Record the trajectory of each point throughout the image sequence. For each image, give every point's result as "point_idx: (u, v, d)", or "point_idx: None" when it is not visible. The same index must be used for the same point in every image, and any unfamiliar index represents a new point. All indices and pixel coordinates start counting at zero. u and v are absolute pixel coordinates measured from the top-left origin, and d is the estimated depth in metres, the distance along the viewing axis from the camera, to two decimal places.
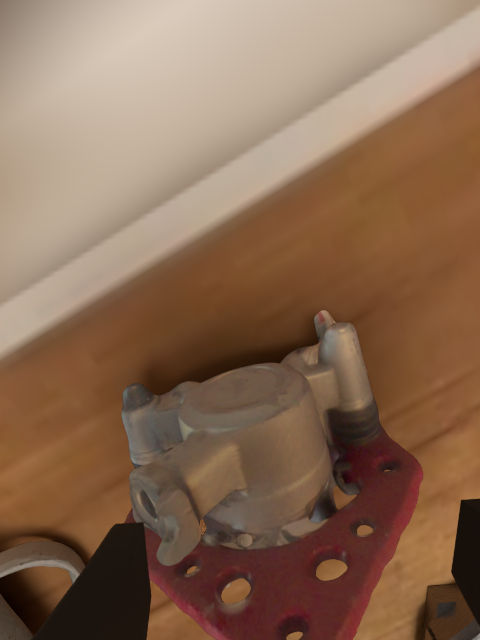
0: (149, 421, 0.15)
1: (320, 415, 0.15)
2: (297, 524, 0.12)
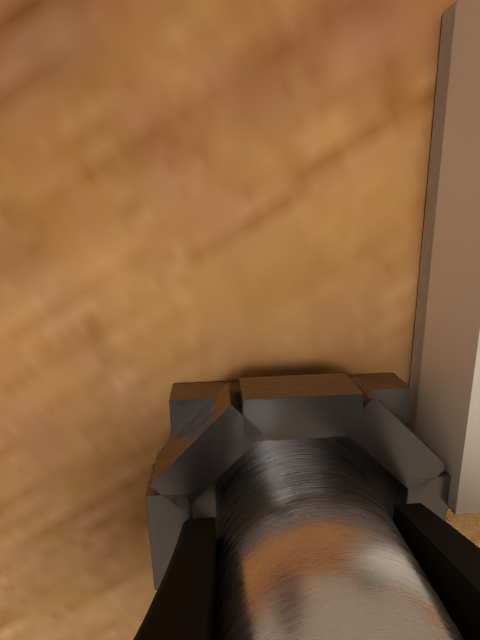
0: None
1: None
2: None
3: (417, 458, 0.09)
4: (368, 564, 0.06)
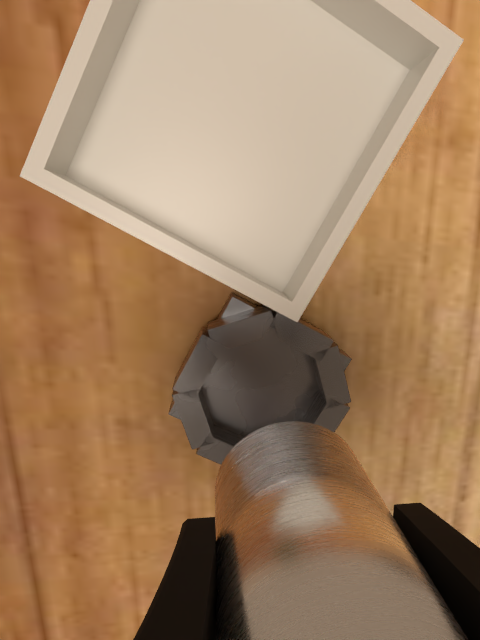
0: None
1: None
2: None
3: (255, 324, 0.15)
4: (356, 542, 0.06)
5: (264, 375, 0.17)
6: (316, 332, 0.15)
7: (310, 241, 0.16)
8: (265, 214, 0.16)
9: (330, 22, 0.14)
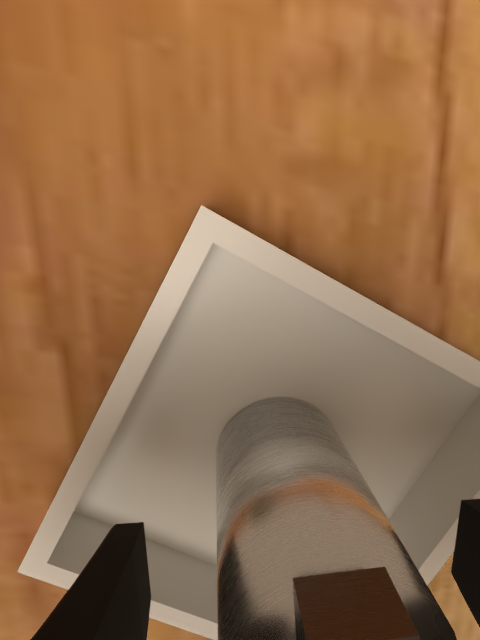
0: None
1: None
2: None
3: None
4: (322, 476, 0.08)
5: None
6: None
7: None
8: None
9: (391, 344, 0.12)
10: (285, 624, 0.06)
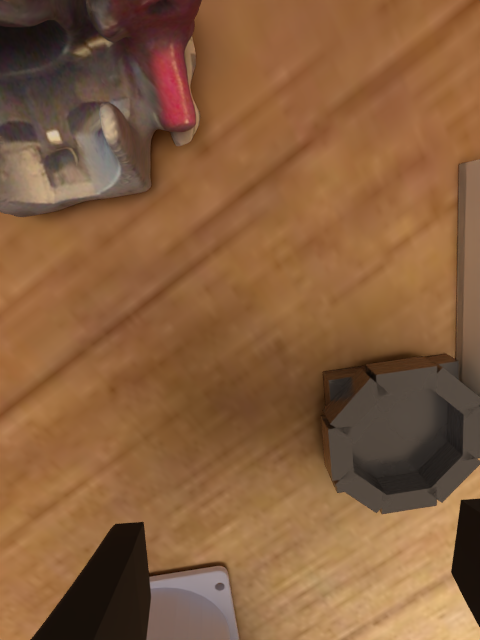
0: None
1: None
2: None
3: (467, 397, 0.17)
4: None
5: (407, 426, 0.18)
6: None
7: None
8: None
9: None
10: None
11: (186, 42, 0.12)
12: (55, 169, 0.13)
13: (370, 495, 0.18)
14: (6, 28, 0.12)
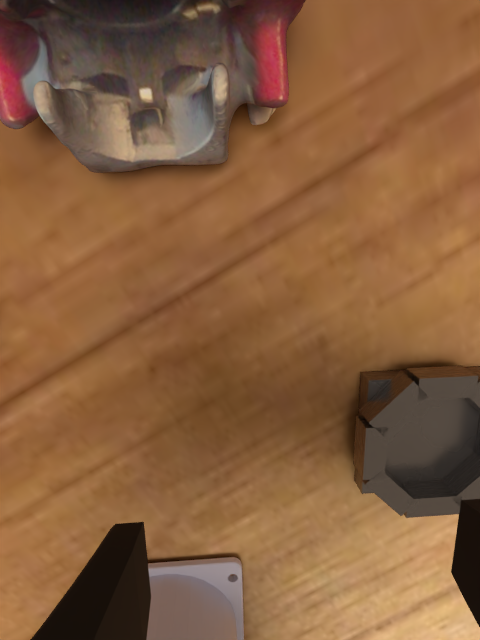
0: None
1: None
2: None
3: None
4: None
5: (437, 433, 0.19)
6: None
7: None
8: None
9: None
10: None
11: (291, 20, 0.12)
12: (139, 127, 0.13)
13: (397, 497, 0.18)
14: None
